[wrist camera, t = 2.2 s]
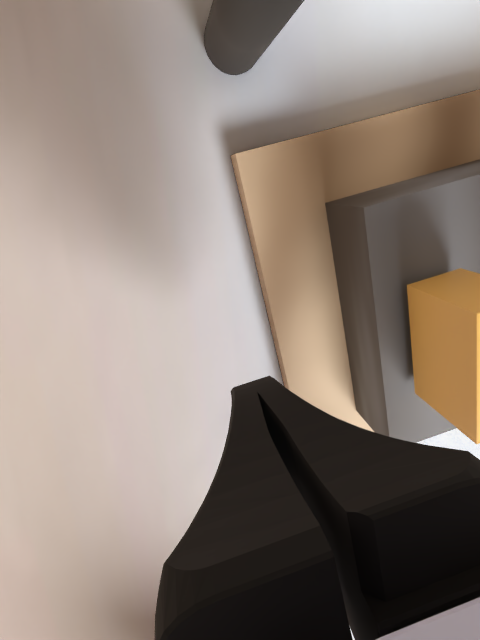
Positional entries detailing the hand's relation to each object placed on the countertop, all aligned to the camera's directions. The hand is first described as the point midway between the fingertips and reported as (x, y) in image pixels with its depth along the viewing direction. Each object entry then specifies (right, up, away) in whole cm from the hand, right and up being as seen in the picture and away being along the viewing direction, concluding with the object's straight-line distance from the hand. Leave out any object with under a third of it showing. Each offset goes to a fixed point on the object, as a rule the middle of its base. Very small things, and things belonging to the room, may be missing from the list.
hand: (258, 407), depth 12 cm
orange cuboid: (+6, +2, +1) cm, 7 cm away
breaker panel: (+8, +5, +6) cm, 11 cm away
